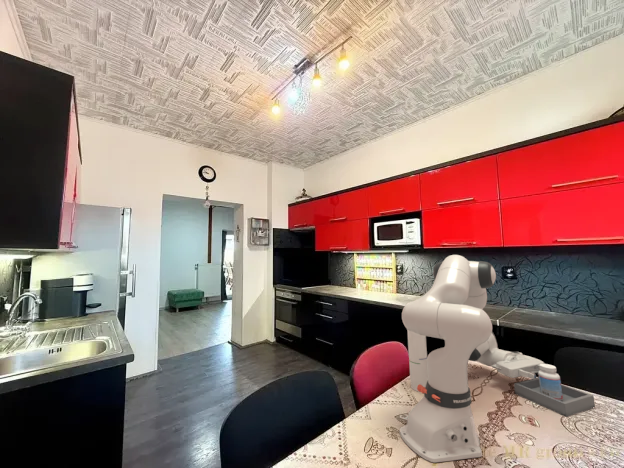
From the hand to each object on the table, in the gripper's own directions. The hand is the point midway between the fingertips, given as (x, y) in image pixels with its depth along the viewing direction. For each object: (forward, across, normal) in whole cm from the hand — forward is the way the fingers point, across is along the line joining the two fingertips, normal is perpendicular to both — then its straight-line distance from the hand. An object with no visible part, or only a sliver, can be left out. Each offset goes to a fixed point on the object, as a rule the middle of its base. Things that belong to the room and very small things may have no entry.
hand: (543, 374), depth 98 cm
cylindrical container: (-23, -39, +8) cm, 46 cm away
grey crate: (+2, 0, +8) cm, 8 cm away
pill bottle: (+2, -1, +7) cm, 8 cm away
